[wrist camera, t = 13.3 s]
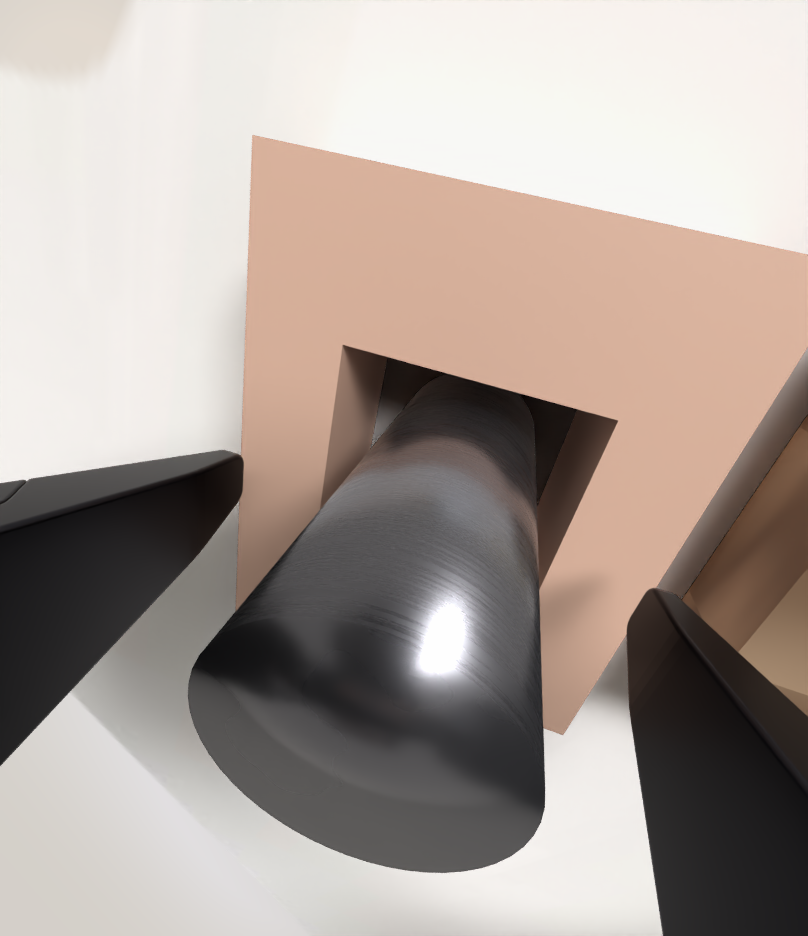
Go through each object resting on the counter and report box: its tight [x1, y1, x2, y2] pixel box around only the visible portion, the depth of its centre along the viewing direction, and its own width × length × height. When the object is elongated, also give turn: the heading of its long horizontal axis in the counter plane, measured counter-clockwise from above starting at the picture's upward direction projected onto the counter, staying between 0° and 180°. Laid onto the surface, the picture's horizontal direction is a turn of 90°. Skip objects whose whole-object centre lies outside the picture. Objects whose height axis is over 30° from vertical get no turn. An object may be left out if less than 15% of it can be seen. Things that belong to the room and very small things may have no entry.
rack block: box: [236, 135, 808, 735], centre depth 12 cm, size 12×10×4 cm
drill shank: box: [188, 374, 545, 873], centre depth 9 cm, size 4×4×10 cm
